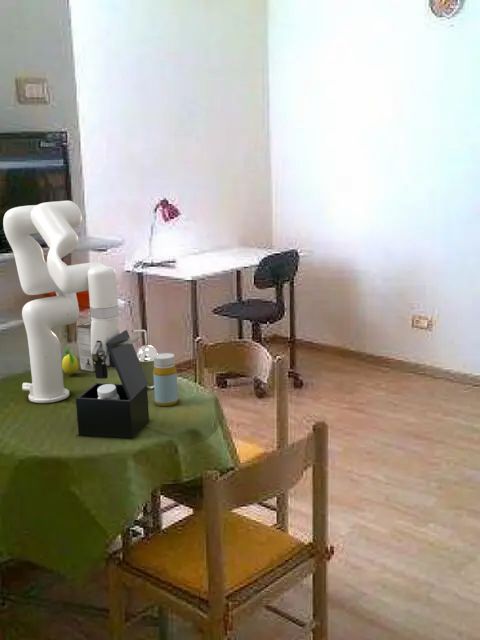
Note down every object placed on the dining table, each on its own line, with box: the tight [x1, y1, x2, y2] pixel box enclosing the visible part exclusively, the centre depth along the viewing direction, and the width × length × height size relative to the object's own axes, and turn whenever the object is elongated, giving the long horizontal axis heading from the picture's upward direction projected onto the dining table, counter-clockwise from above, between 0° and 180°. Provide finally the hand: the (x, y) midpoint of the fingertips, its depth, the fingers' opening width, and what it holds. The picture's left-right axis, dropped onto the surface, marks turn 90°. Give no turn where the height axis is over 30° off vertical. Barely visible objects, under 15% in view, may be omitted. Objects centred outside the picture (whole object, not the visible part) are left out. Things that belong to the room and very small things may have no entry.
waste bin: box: [75, 382, 150, 440], centre depth 217 cm, size 16×14×11 cm
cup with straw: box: [131, 329, 159, 390], centre depth 250 cm, size 8×9×20 cm
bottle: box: [153, 352, 179, 407], centre depth 235 cm, size 7×7×15 cm
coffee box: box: [76, 321, 110, 373], centre depth 274 cm, size 9×6×16 cm
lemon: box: [61, 347, 79, 376], centre depth 266 cm, size 7×6×10 cm
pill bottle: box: [97, 383, 120, 400], centre depth 216 cm, size 6×6×11 cm
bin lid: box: [106, 329, 148, 400], centre depth 212 cm, size 16×14×6 cm
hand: (108, 372), depth 214 cm, fingers open, 9 cm apart
